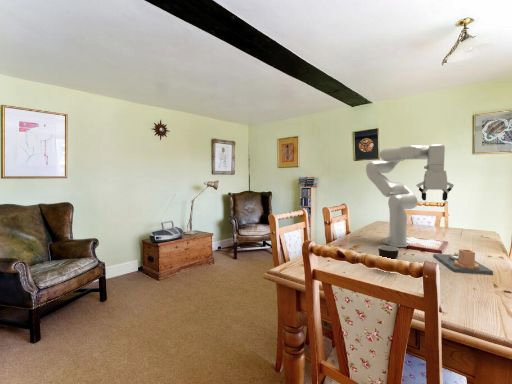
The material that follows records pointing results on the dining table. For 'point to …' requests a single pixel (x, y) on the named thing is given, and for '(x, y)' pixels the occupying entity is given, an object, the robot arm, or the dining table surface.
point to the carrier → (449, 262)
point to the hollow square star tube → (466, 259)
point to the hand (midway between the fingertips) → (434, 200)
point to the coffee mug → (388, 252)
